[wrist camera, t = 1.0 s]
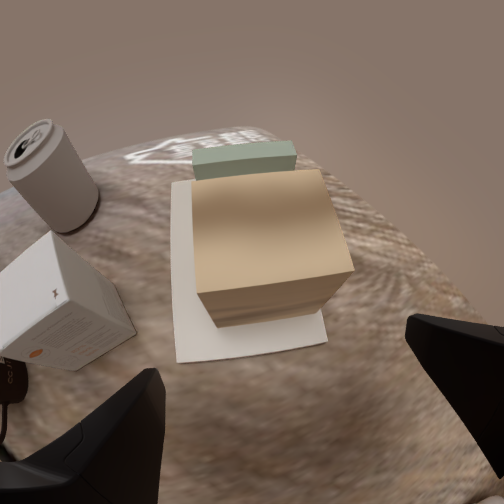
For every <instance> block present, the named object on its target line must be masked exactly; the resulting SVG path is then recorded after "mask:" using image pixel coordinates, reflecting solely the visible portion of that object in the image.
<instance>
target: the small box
mask: <svg viewBox="0 0 504 504" xmlns="http://www.w3.org/2000/svg"><path fill="white" fill-rule="evenodd" d="M135 334H136V331H135V329H134V327H133V325H132V323H131V321H130V319H129V317H128V315H127V312H126V310H125V308H124V306H123V304H122V302H121V299H120V297H119V295H118V293H117V290H116V288H115V286H114V284H113V283H112V282H111V281H109V280H108V279H107V278H106V277H104V276H103V275H102V274H101V273H100V272H98V271H97V270H96V269H95V268H94V267H92V266H91V265H90V264H89V263H88V262H86V261H85V260H84V259H83V258H82V257H81V256H80V255H78V254H77V253H76V252H75V251H74V250H73V249H72V248H71V247H70V246H68V245H67V244H66V243H65V242H64V241H63V240H62V239H61V238H60V237H59V236H57V235H56V234H55V233H54V232H53V231H52V230H50V231H49V232H48V233H46V234H45V235H44V236H43V237H41V238H40V239H39V240H37V241H36V242H35V243H34V244H33V245H31V246H30V247H29V248H28V249H27V250H25V251H24V252H23V253H22V254H21V255H19V256H18V257H17V258H16V259H15V260H14V261H13V262H11V263H10V264H9V265H8V266H7V267H6V268H5V269H4V270H3V271H2V272H0V356H3V357H6V358H10V359H14V360H18V361H23V362H27V363H32V364H37V365H41V366H47V367H52V368H58V369H64V370H71V371H77V370H78V369H80V368H82V367H83V366H85V365H86V364H88V363H90V362H91V361H93V360H95V359H96V358H98V357H100V356H101V355H103V354H104V353H106V352H108V351H109V350H111V349H113V348H114V347H116V346H117V345H119V344H121V343H122V342H124V341H126V340H127V339H129V338H130V337H132V336H134V335H135Z"/></svg>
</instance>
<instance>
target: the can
mask: <svg viewBox="0 0 504 504" xmlns="http://www.w3.org/2000/svg"><path fill="white" fill-rule="evenodd" d="M4 164H5V166H7V178H8V180H9V181H10V182H11V184H12V185H13V186H14V187H15V188H16V190H17V191H18V192H19V193H20V194H21V195H22V197H23V198H24V199H25V200H26V201H27V202H28V203H29V205H30V206H31V207H32V208H33V209H34V210H35V211H36V212H37V213H38V214H39V215H40V217H41V218H42V219H43V220H44V221H45V222H46V223H47V224H48V225H49V226H50V227H51V228H52V229H53V230H54V231H57V232H59V233H63V232H69V231H71V230H74V229H76V228H78V227H80V226H81V225H82V224H84V223H85V222H86V221H87V220H88V218H89V217H90V216H91V214H92V212H93V211H94V208H95V206H96V203H97V201H98V189H97V186H96V184H95V183H94V181H93V179H92V178H91V176H90V175H89V173H88V171H87V170H86V168H85V166H84V165H83V163H82V161H81V159H80V158H79V156H78V154H77V153H76V151H75V149H74V147H73V145H72V144H71V142H70V140H69V138H68V136H67V134H66V133H65V131H64V129H63V127H62V126H60V125H56V124H53V121H52V120H50V119H43V120H40V121H37V122H36V123H34V124H32V125H31V126H29V127H28V128H27V129H25V130H24V131H23V132H22V133H21V134H20V135H19V136H18V137H17V138H16V139H15V140H14V141H13V143H12V144H11V145H10V147H9V148H8V150H7V152H6V154H5V157H4Z"/></svg>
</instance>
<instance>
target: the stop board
mask: <svg viewBox="0 0 504 504" xmlns="http://www.w3.org/2000/svg"><path fill="white" fill-rule="evenodd" d="M296 158H297V154H296V151H295V148H294V146H293V143H292V141H275V142H260V143H248V144H237V145H228V146H219V147H211V148H203V149H196V150H192V165H193V170H194V174H195V179H196V181H198V180H205V179H213V178H221V177H229V176H238V175H248V174H258V173H269V172H282V171H294V169H295V164H296Z"/></svg>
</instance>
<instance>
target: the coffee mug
mask: <svg viewBox="0 0 504 504" xmlns="http://www.w3.org/2000/svg"><path fill="white" fill-rule="evenodd" d="M27 388H28V373H27V368H26V365H25V362H23V361H18V360H14V359H10V358H6V357H3V356H0V404H2V429H1V434H0V444H1V443H2V442H3V441H4V439H5V435H6V431H7V408H8V407H7V406H8V405H9V404H11V403H19V402H21V401H22V400H23V399H24V397H25V396H26V393H27Z"/></svg>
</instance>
